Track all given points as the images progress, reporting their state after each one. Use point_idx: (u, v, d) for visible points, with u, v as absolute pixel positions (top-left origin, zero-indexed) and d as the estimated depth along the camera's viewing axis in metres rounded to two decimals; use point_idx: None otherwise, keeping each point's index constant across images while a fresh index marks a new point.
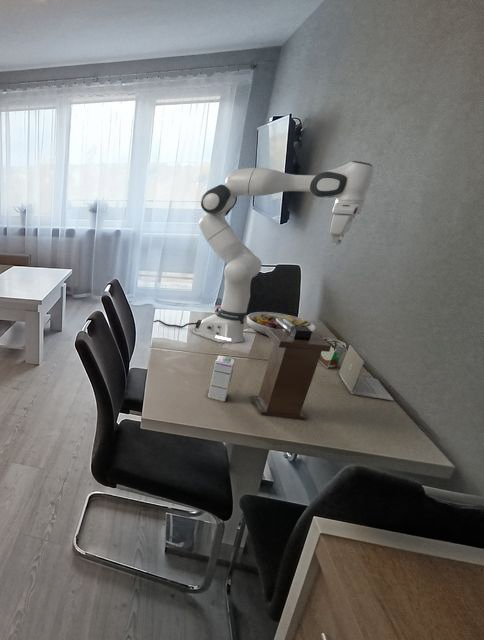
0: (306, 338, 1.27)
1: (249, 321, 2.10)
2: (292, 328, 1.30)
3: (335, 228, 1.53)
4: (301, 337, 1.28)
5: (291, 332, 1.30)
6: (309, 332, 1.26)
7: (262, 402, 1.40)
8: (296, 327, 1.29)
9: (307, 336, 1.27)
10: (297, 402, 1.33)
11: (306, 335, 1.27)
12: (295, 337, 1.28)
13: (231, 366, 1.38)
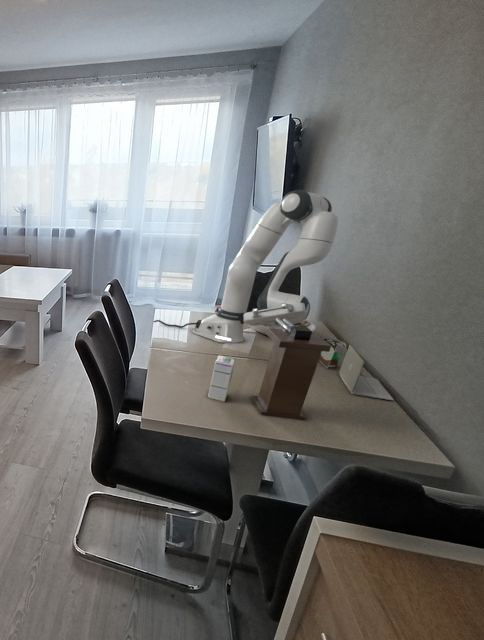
0: (306, 338, 1.27)
1: None
2: (292, 328, 1.30)
3: (304, 307, 1.51)
4: (301, 337, 1.28)
5: (291, 332, 1.30)
6: (309, 332, 1.26)
7: (262, 402, 1.40)
8: (296, 327, 1.29)
9: (307, 336, 1.27)
10: (297, 402, 1.33)
11: (306, 335, 1.27)
12: (295, 337, 1.28)
13: (231, 366, 1.38)
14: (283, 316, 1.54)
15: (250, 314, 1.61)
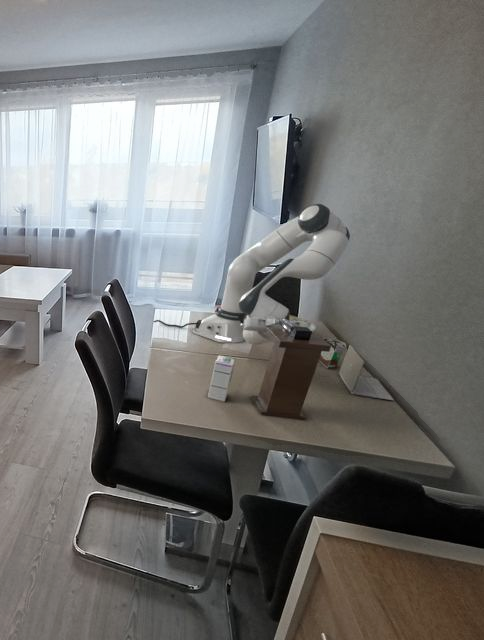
0: (306, 338, 1.27)
1: None
2: (292, 328, 1.30)
3: None
4: (301, 337, 1.28)
5: (291, 332, 1.30)
6: (309, 332, 1.26)
7: (262, 402, 1.40)
8: (296, 327, 1.29)
9: (307, 336, 1.27)
10: (297, 402, 1.33)
11: (306, 335, 1.27)
12: (295, 337, 1.28)
13: (231, 366, 1.38)
14: None
15: (256, 320, 1.46)
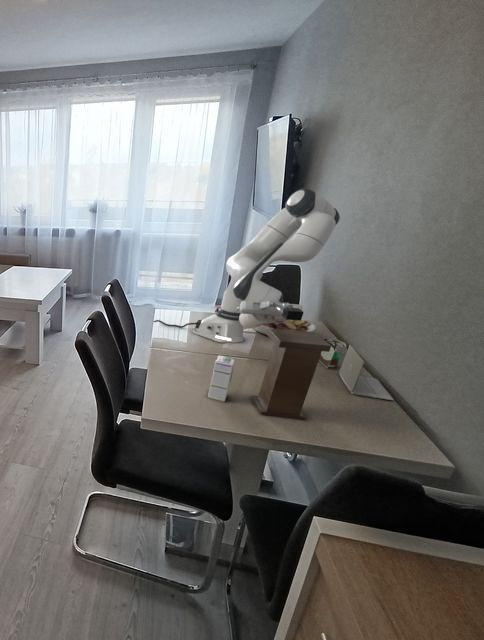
0: (298, 319, 1.33)
1: None
2: (284, 309, 1.35)
3: None
4: (293, 318, 1.33)
5: (284, 313, 1.36)
6: (301, 312, 1.32)
7: (262, 402, 1.40)
8: (288, 308, 1.35)
9: (299, 316, 1.33)
10: (297, 402, 1.33)
11: (298, 315, 1.33)
12: (287, 317, 1.34)
13: (231, 366, 1.38)
14: (279, 313, 1.52)
15: (251, 303, 1.52)
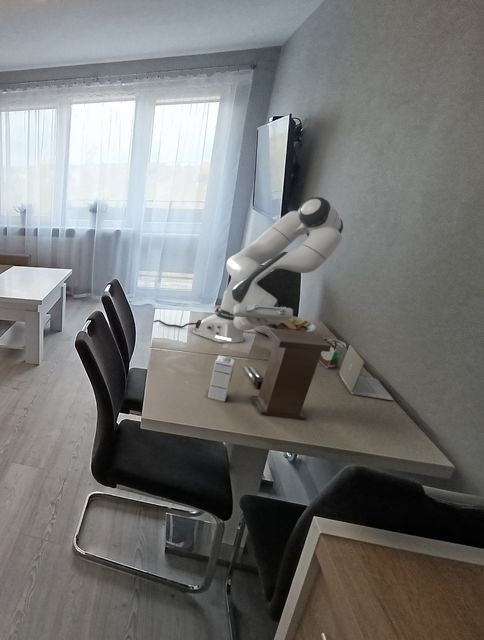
0: None
1: None
2: (255, 379, 1.54)
3: None
4: None
5: (254, 382, 1.55)
6: None
7: (262, 402, 1.40)
8: (258, 378, 1.54)
9: None
10: (297, 402, 1.33)
11: None
12: (257, 387, 1.52)
13: (231, 366, 1.38)
14: (271, 316, 1.58)
15: (244, 307, 1.59)
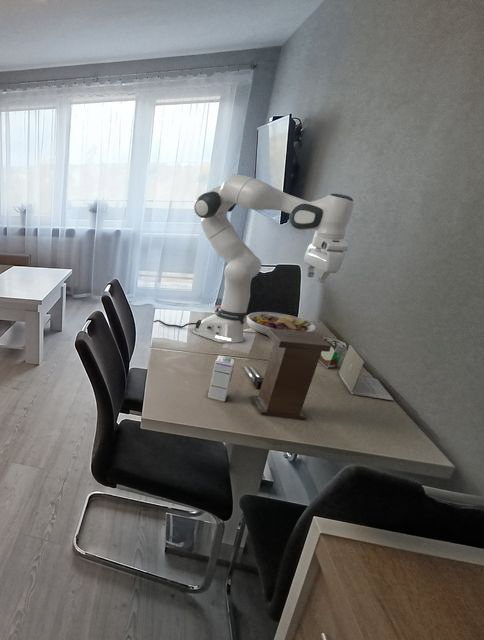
0: None
1: (249, 321, 2.10)
2: (255, 379, 1.54)
3: (332, 266, 1.43)
4: None
5: (254, 382, 1.55)
6: None
7: (262, 402, 1.40)
8: (258, 378, 1.54)
9: None
10: (297, 402, 1.33)
11: None
12: (257, 387, 1.52)
13: (231, 366, 1.38)
14: None
15: None
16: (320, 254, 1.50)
